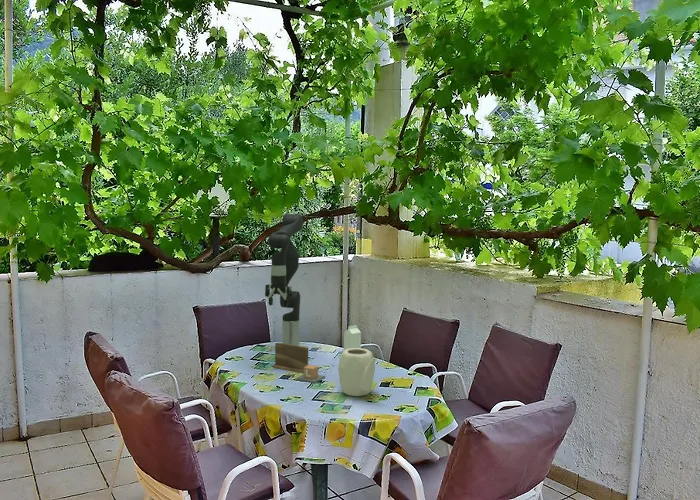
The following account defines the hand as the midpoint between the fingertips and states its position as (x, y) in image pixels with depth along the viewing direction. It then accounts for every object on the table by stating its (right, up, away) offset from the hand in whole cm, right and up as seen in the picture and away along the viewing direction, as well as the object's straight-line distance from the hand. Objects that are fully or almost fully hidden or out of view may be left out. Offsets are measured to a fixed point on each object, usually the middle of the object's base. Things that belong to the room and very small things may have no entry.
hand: (278, 306), depth 298 cm
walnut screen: (+7, -31, -4) cm, 32 cm away
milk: (+37, -31, -2) cm, 49 cm away
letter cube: (+18, -32, -19) cm, 41 cm away
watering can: (+39, -35, -38) cm, 65 cm away
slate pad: (+18, -32, -19) cm, 42 cm away
